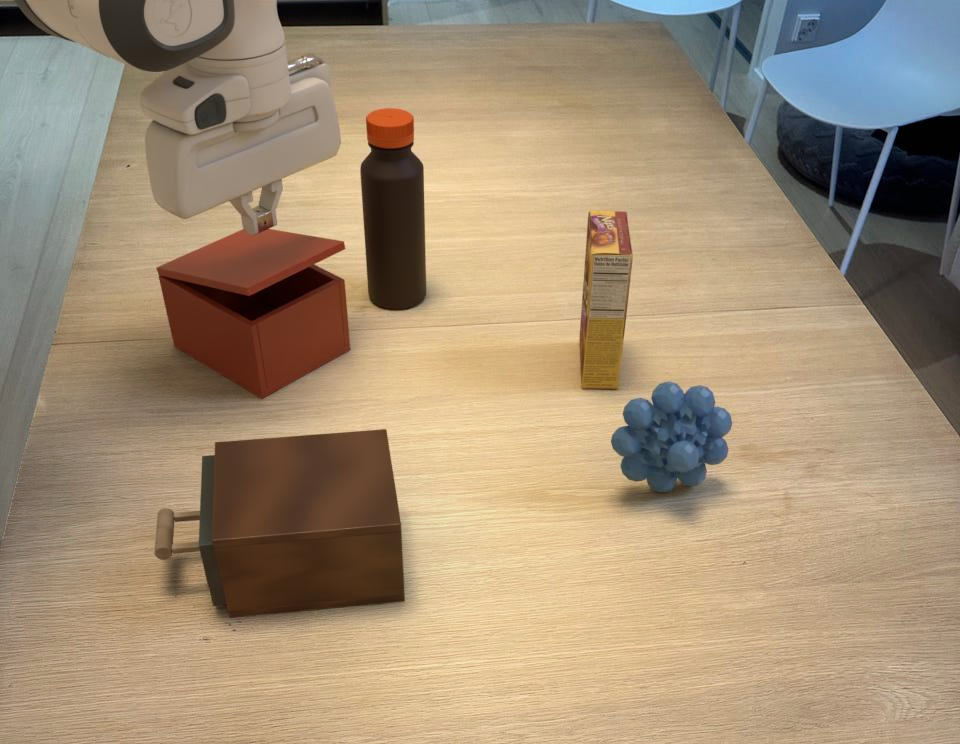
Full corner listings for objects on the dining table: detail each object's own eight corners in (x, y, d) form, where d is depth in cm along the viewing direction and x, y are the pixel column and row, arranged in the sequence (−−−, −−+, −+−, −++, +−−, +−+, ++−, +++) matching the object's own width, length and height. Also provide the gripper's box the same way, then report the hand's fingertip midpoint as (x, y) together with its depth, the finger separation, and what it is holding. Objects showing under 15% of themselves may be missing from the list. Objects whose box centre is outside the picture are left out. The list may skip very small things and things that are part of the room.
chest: (350, 349, 115) (344, 279, 109) (262, 399, 109) (250, 327, 103) (262, 302, 122) (252, 233, 116) (173, 346, 115) (158, 275, 109)
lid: (345, 249, 106) (343, 241, 106) (249, 296, 100) (246, 287, 99) (252, 233, 115) (250, 225, 115) (158, 275, 109) (155, 267, 108)
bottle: (372, 313, 120) (361, 132, 106) (364, 283, 125) (352, 106, 110) (431, 307, 121) (428, 128, 107) (421, 278, 126) (416, 102, 111)
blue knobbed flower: (618, 528, 96) (635, 419, 87) (595, 482, 100) (609, 373, 92) (737, 510, 98) (765, 401, 89) (710, 466, 102) (734, 358, 94)
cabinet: (229, 617, 88) (212, 540, 81) (230, 518, 96) (214, 441, 90) (405, 601, 89) (401, 524, 83) (390, 505, 98) (386, 428, 91)
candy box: (575, 343, 117) (588, 208, 106) (614, 344, 117) (631, 209, 106) (577, 389, 111) (590, 251, 100) (618, 391, 111) (636, 253, 100)
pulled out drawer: (161, 611, 87) (143, 550, 82) (167, 520, 94) (151, 459, 89) (376, 591, 89) (371, 530, 84) (365, 504, 96) (360, 443, 91)
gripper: (302, 39, 100) (317, 184, 110) (122, 100, 89) (156, 255, 100) (349, 56, 97) (359, 203, 107) (168, 121, 87) (199, 277, 97)
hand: (260, 229), depth 103 cm, fingers closed
